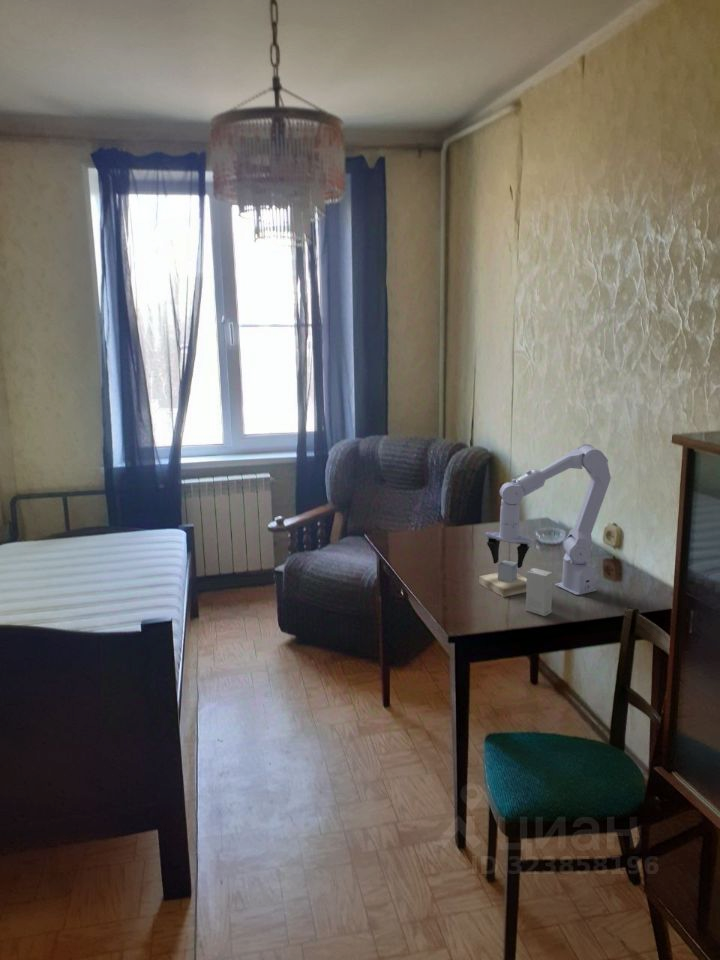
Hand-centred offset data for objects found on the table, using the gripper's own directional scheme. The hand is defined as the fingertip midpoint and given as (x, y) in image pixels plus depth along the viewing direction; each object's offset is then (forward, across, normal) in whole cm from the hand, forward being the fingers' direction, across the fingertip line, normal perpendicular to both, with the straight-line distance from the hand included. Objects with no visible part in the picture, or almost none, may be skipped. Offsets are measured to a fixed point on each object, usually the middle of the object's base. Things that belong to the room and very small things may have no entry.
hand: (507, 564), depth 213 cm
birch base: (+7, 0, 0) cm, 7 cm away
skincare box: (+8, -14, +13) cm, 21 cm away
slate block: (+5, 0, 0) cm, 5 cm away
